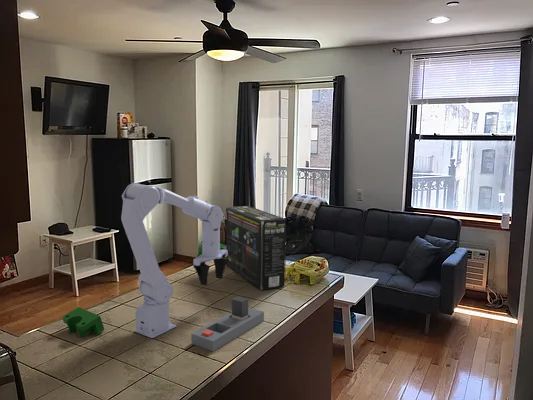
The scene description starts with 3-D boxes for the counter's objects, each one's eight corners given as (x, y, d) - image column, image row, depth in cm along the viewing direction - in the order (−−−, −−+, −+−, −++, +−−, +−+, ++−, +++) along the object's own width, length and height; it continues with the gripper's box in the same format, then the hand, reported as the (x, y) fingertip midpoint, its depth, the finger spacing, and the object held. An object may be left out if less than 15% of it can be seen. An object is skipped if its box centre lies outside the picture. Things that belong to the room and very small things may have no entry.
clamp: (73, 344, 131) (58, 318, 130) (90, 333, 136) (76, 307, 135) (90, 342, 123) (74, 314, 122) (107, 329, 128) (92, 302, 127)
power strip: (213, 351, 119) (212, 339, 118) (191, 343, 123) (191, 331, 122) (264, 320, 138) (264, 309, 138) (243, 314, 143) (243, 304, 142)
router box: (286, 287, 169) (287, 218, 165) (261, 291, 164) (261, 221, 159) (247, 262, 200) (247, 204, 196) (224, 265, 195) (224, 206, 191)
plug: (242, 327, 132) (242, 302, 131) (231, 324, 134) (231, 299, 133) (248, 323, 135) (248, 298, 133) (237, 320, 137) (237, 296, 136)
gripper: (204, 247, 135) (205, 290, 137) (234, 238, 146) (234, 277, 148) (188, 244, 138) (189, 285, 141) (218, 235, 150) (219, 273, 152)
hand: (211, 281), depth 145 cm, fingers open, 7 cm apart
